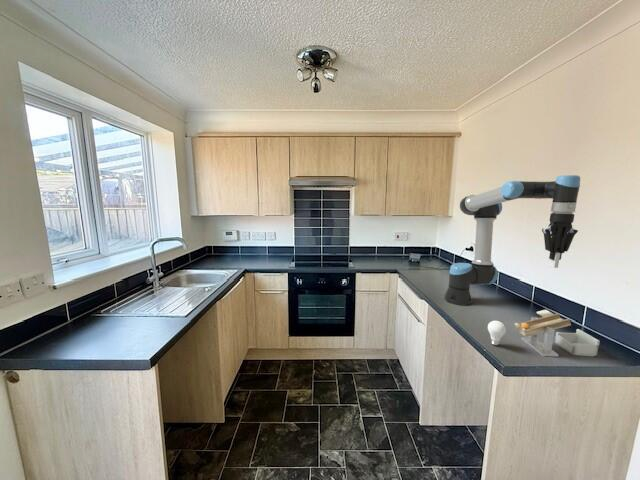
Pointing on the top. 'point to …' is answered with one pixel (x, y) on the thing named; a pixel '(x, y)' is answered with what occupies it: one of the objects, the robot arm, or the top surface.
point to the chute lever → (542, 323)
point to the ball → (525, 326)
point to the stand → (546, 346)
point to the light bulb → (496, 331)
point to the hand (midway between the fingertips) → (553, 266)
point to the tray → (577, 343)
